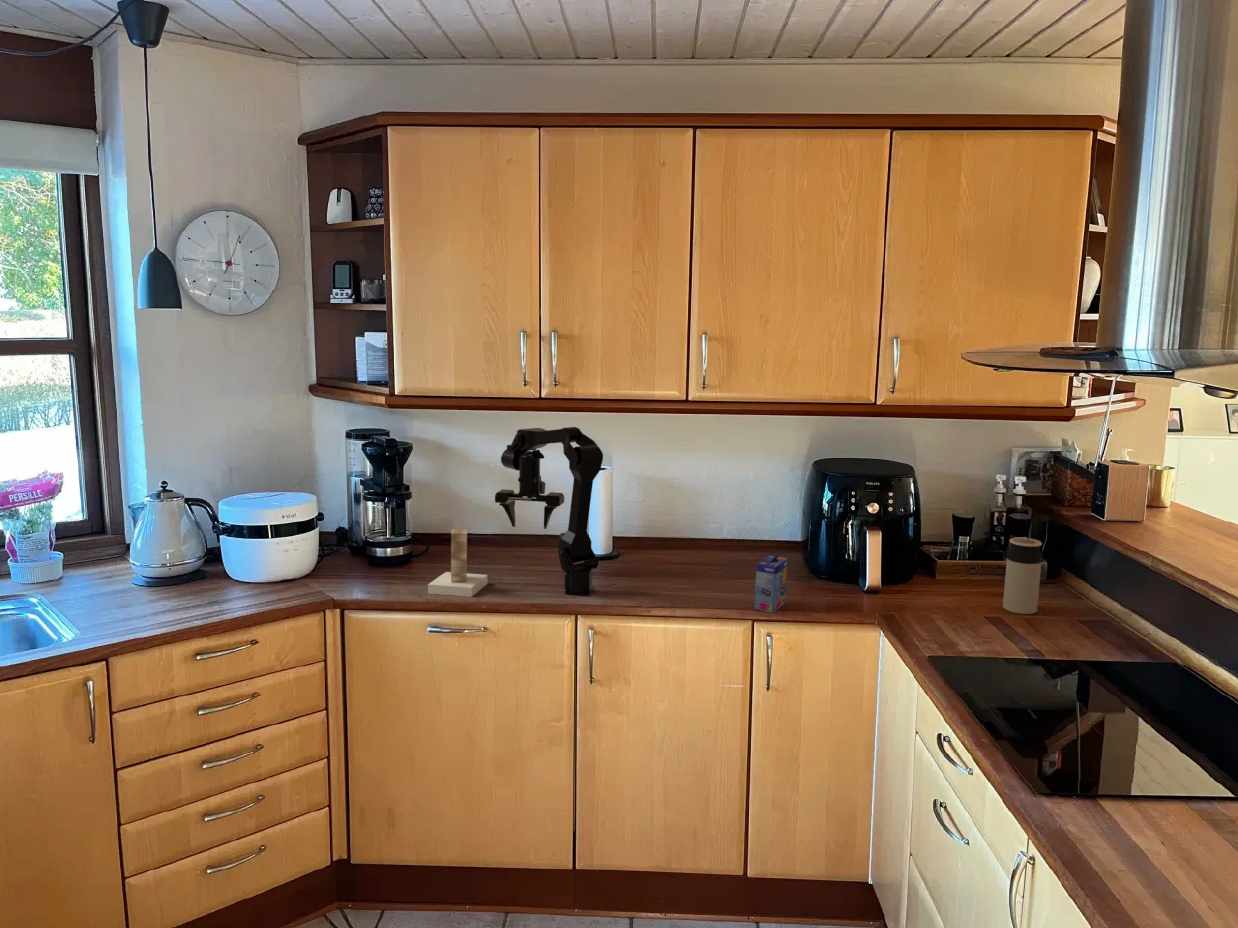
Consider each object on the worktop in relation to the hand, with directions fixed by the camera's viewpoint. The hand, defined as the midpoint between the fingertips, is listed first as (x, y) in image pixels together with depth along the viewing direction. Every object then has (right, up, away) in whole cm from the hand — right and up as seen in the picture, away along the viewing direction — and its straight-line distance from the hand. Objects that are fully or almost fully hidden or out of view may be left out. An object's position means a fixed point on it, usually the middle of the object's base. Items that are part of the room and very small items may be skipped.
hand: (529, 527), depth 258 cm
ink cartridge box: (+64, -19, -25) cm, 71 cm away
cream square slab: (-18, -16, -13) cm, 27 cm away
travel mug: (+127, -19, -25) cm, 131 cm away
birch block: (-18, -13, -14) cm, 26 cm away
